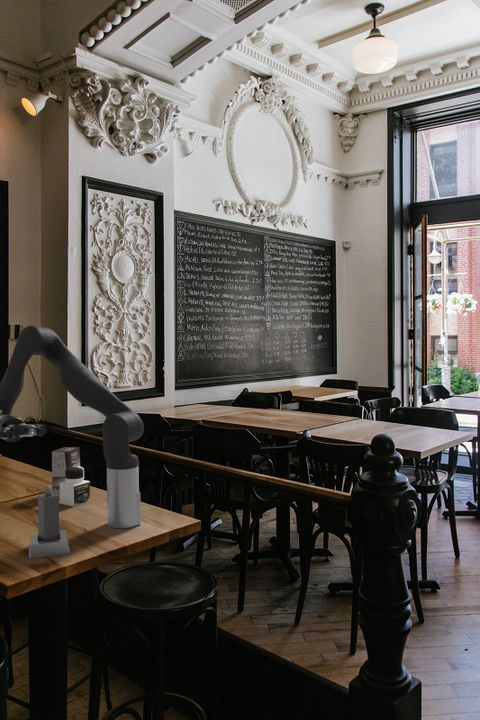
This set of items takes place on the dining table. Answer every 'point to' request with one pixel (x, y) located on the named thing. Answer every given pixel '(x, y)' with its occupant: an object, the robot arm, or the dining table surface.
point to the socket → (48, 546)
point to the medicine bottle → (74, 487)
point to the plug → (48, 516)
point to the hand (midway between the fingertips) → (27, 434)
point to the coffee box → (63, 465)
